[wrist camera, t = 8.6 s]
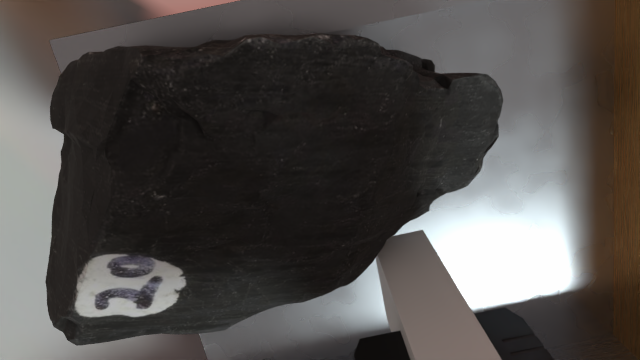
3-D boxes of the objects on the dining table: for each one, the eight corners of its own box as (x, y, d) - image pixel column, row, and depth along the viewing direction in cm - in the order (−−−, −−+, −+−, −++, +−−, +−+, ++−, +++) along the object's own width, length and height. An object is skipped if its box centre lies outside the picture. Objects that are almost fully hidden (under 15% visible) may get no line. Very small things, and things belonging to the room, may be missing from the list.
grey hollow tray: (235, 407, 23) (221, 511, 18) (114, 32, 17) (49, 40, 12) (618, 330, 23) (705, 414, 18) (622, -74, 17) (749, -106, 12)
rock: (529, -52, 12) (413, 146, 5) (500, 206, 16) (415, 526, 9) (180, -39, 16) (-164, 74, 9) (229, 162, 21) (22, 350, 13)
